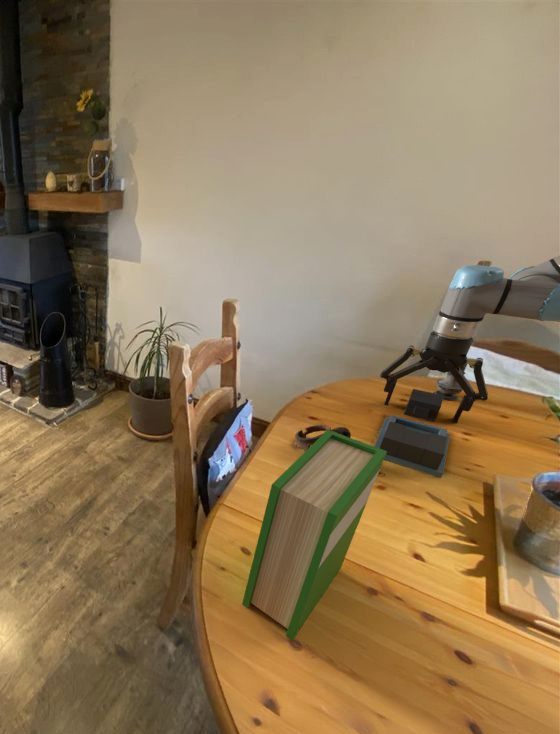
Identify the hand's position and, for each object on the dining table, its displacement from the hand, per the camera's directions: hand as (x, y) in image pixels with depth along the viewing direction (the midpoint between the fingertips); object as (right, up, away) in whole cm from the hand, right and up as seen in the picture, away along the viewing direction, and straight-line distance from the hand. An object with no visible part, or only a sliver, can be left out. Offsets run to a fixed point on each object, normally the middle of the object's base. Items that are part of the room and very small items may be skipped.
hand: (419, 411), depth 107 cm
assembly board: (-13, -7, -12) cm, 19 cm away
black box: (0, 0, 0) cm, 0 cm away
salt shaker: (+13, +4, +6) cm, 15 cm away
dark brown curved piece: (-33, -9, -12) cm, 37 cm away
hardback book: (-57, -25, -41) cm, 74 cm away
